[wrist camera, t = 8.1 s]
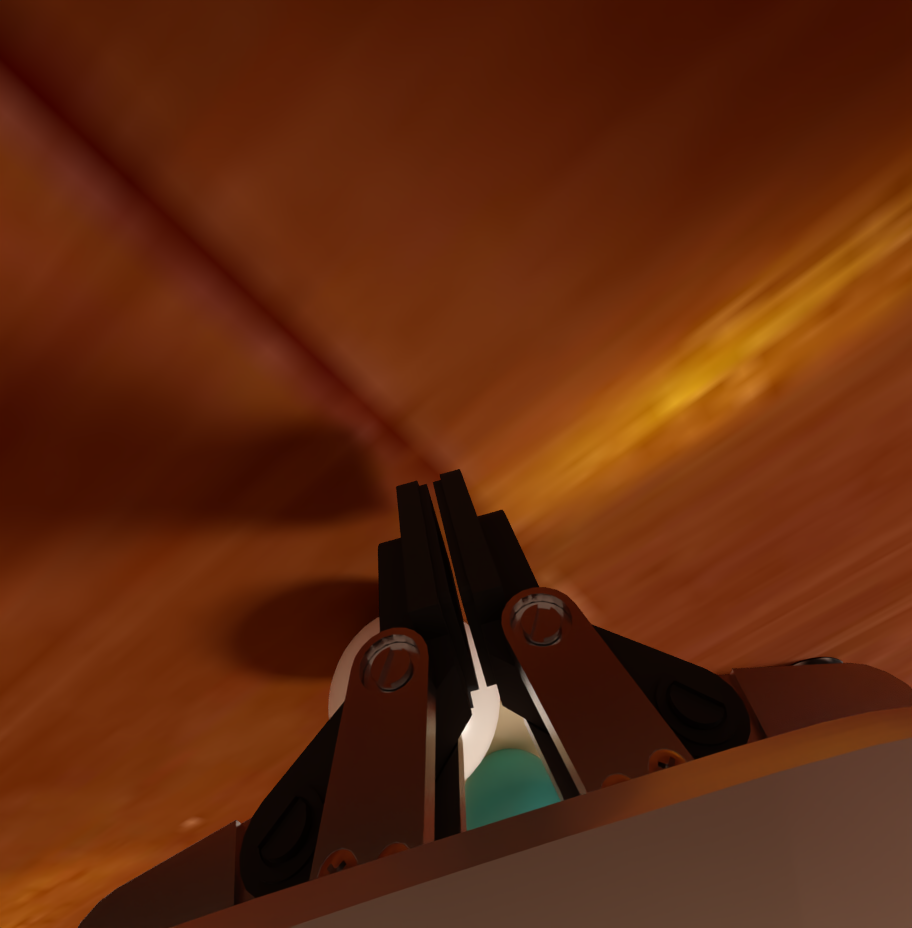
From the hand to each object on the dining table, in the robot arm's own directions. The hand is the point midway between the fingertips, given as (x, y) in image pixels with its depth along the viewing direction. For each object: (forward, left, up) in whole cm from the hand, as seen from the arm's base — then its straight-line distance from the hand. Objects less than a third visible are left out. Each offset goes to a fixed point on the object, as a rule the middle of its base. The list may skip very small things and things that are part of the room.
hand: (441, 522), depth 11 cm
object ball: (0, +18, 0) cm, 18 cm away
